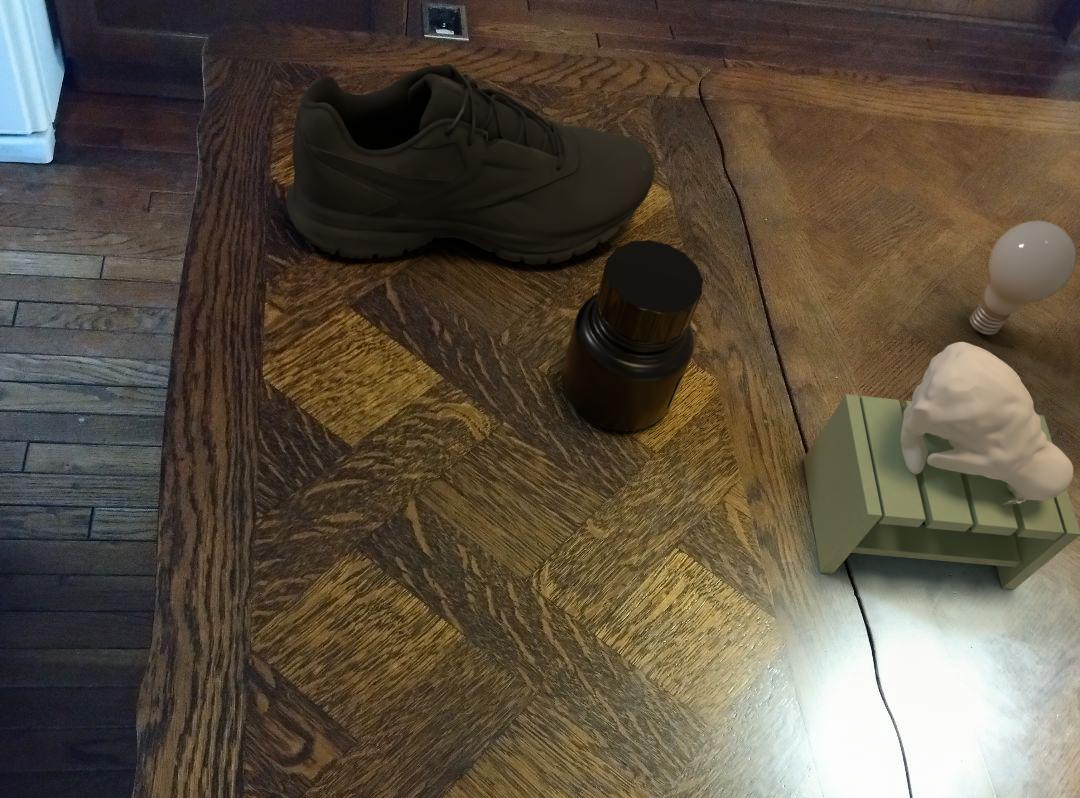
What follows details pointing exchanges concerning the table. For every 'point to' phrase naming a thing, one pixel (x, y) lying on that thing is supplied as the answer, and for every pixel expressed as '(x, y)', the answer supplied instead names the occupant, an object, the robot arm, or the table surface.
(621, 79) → the table surface
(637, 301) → the ink bottle
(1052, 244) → the lightbulb
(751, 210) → the table surface
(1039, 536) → the stool
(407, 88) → the running shoe
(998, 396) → the white animal figurine
